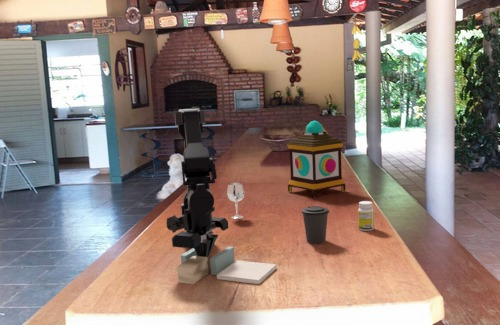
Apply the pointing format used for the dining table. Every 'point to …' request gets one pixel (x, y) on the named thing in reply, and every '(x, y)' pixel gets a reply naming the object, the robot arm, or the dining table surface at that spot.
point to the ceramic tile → (247, 272)
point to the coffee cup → (315, 224)
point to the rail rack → (214, 259)
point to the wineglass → (236, 196)
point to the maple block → (192, 269)
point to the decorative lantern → (315, 160)
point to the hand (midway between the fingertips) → (203, 264)
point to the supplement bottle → (365, 216)
